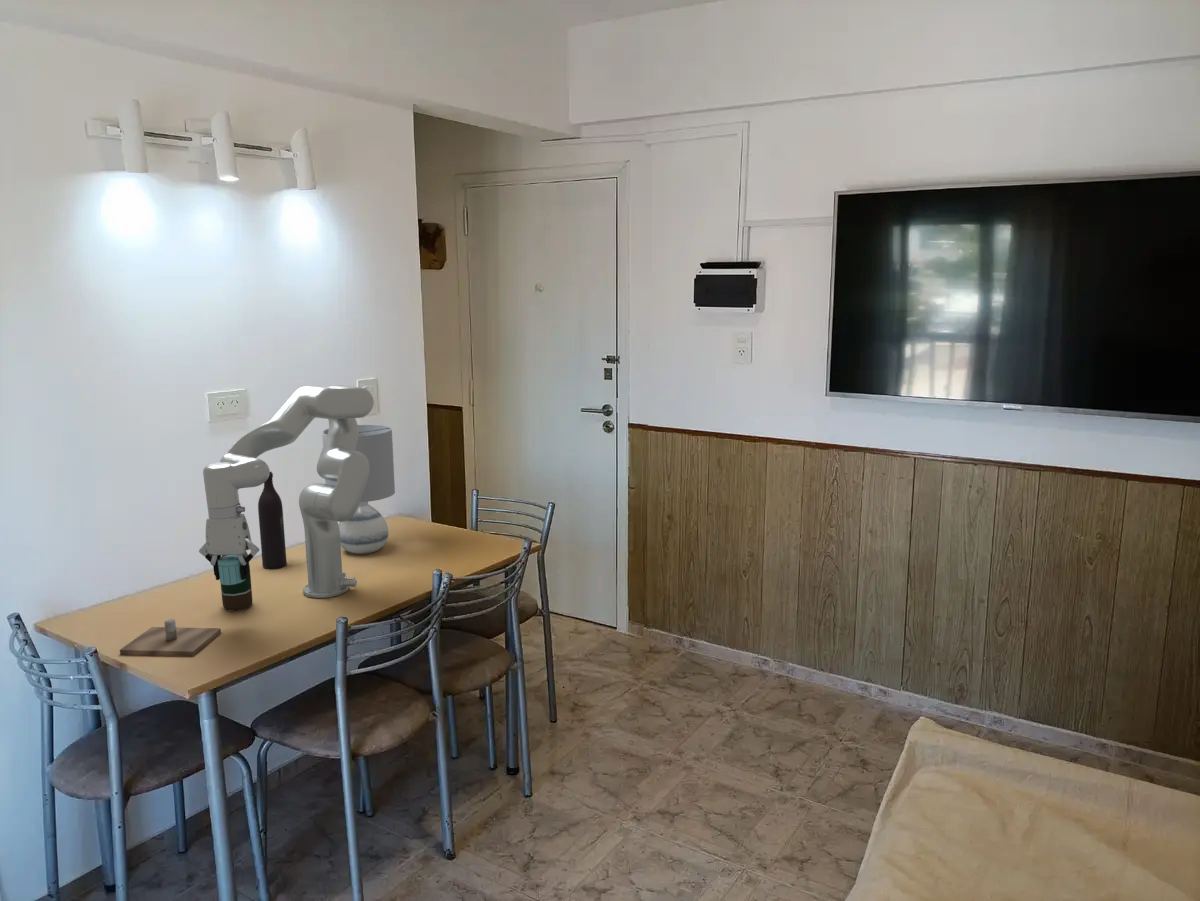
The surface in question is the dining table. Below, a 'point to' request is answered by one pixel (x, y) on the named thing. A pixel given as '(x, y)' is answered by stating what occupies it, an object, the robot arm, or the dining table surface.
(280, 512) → the wine bottle
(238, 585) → the beer bottle
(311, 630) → the dining table surface
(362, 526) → the lamp
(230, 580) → the cap
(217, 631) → the post board
